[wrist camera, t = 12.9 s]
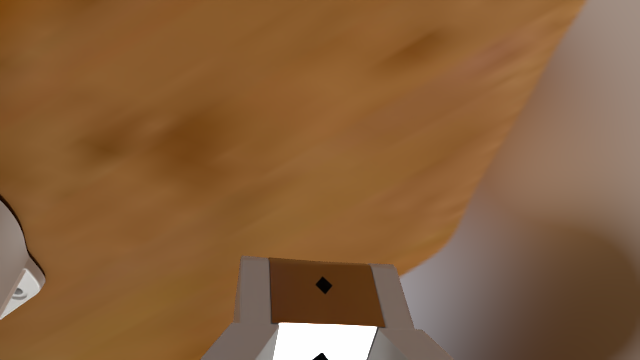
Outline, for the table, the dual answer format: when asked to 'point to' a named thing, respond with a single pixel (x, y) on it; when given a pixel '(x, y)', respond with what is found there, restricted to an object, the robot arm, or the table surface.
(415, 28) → the table surface
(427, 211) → the table surface
